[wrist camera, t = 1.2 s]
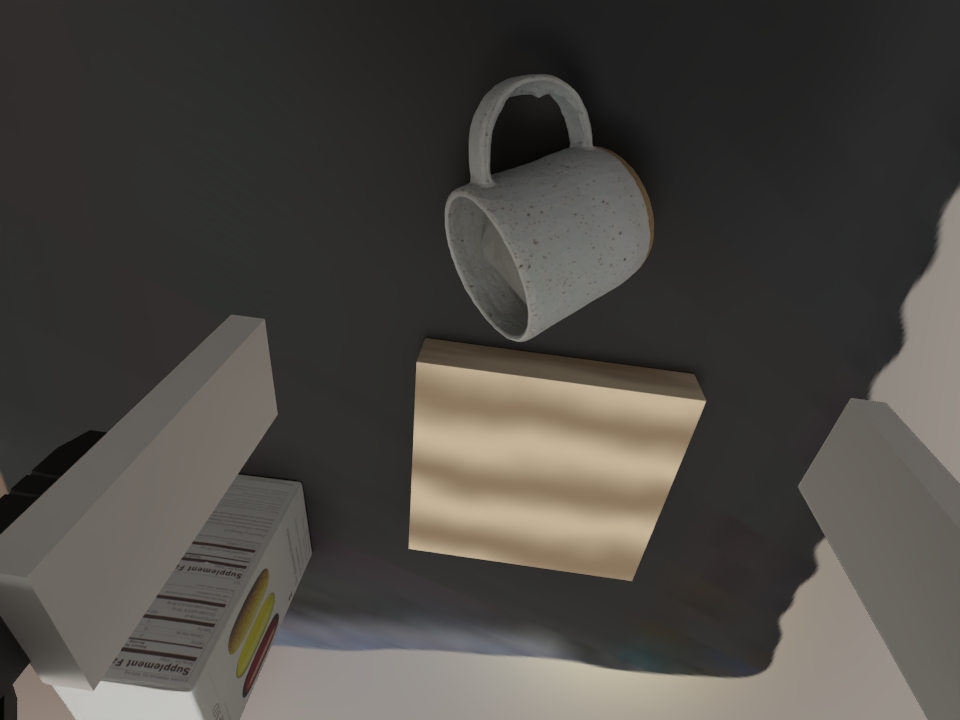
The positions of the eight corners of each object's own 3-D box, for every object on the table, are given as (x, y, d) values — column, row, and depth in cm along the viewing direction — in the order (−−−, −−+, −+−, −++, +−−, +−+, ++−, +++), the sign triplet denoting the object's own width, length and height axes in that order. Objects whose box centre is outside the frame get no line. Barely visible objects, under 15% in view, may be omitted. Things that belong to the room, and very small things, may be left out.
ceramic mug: (569, 228, 32) (656, 304, 28) (451, 282, 30) (525, 373, 26) (582, 39, 24) (709, 107, 20) (420, 96, 22) (521, 186, 18)
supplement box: (314, 553, 49) (223, 768, 35) (217, 541, 50) (88, 749, 35) (302, 478, 44) (190, 695, 30) (194, 466, 44) (32, 673, 30)
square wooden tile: (425, 337, 36) (416, 361, 33) (694, 374, 35) (706, 401, 33) (415, 519, 45) (408, 548, 43) (626, 549, 45) (632, 580, 42)
